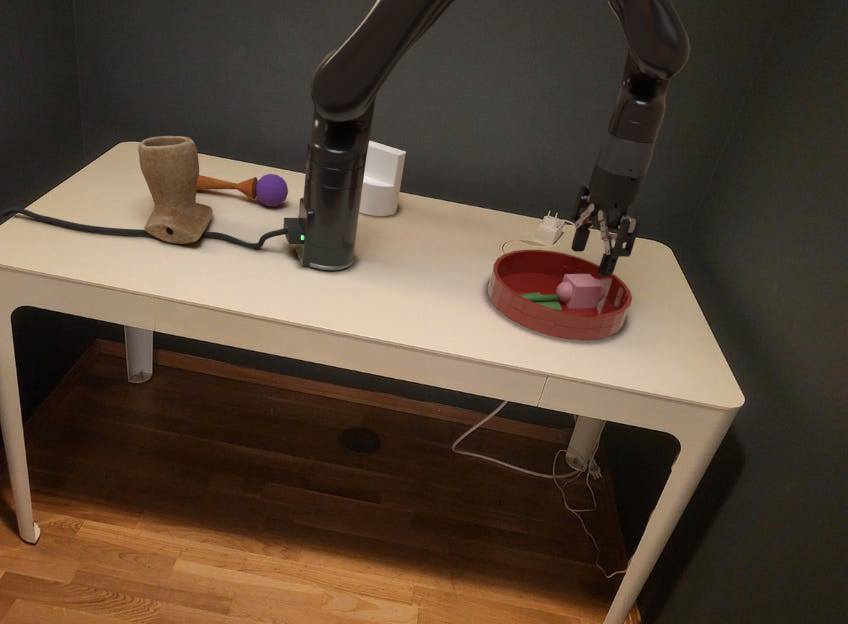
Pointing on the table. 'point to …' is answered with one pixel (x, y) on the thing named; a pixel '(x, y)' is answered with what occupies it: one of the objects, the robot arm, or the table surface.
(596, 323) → the bowl
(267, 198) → the kendama
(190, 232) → the stone cup
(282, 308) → the table surface
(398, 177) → the base with upright slab
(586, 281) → the tulip
